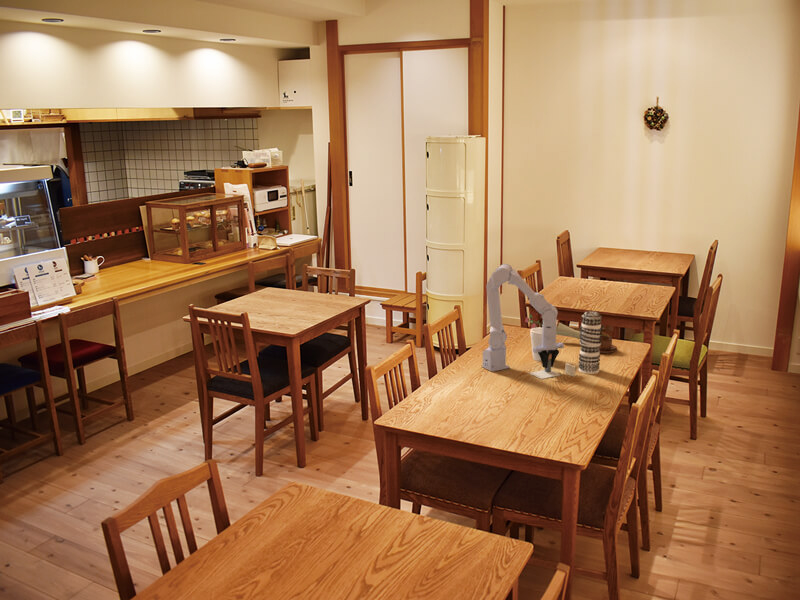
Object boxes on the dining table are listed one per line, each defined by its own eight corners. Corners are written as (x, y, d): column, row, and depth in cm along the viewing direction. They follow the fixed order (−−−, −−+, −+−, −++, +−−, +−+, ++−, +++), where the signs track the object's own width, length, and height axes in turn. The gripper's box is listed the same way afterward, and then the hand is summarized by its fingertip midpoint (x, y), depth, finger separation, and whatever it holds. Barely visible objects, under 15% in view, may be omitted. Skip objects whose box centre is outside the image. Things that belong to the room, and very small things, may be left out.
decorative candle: (574, 372, 296) (577, 314, 290) (580, 365, 304) (583, 309, 298) (597, 375, 292) (600, 316, 286) (602, 368, 300) (605, 311, 294)
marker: (547, 372, 295) (547, 356, 293) (543, 370, 297) (543, 354, 295) (552, 371, 296) (553, 355, 294) (548, 369, 298) (548, 353, 297)
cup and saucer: (617, 356, 316) (618, 342, 315) (590, 354, 319) (590, 341, 317) (615, 347, 328) (616, 335, 326) (588, 346, 330) (589, 333, 329)
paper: (541, 379, 288) (541, 378, 288) (529, 373, 295) (529, 372, 295) (560, 375, 292) (560, 374, 292) (548, 369, 299) (548, 368, 299)
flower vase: (590, 362, 331) (518, 339, 341) (595, 348, 340) (524, 326, 350) (596, 342, 324) (522, 319, 334) (601, 328, 333) (529, 306, 343)
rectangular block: (574, 376, 291) (575, 366, 290) (573, 376, 291) (573, 367, 290) (566, 372, 296) (567, 363, 295) (565, 372, 295) (565, 363, 294)
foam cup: (552, 362, 308) (554, 333, 305) (531, 362, 309) (532, 333, 306) (548, 355, 318) (550, 327, 315) (528, 355, 318) (529, 327, 315)
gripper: (541, 340, 286) (539, 372, 289) (569, 335, 293) (567, 366, 296) (530, 336, 292) (529, 367, 296) (558, 331, 299) (556, 361, 302)
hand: (547, 366), depth 296 cm, fingers closed on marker, 2 cm apart
